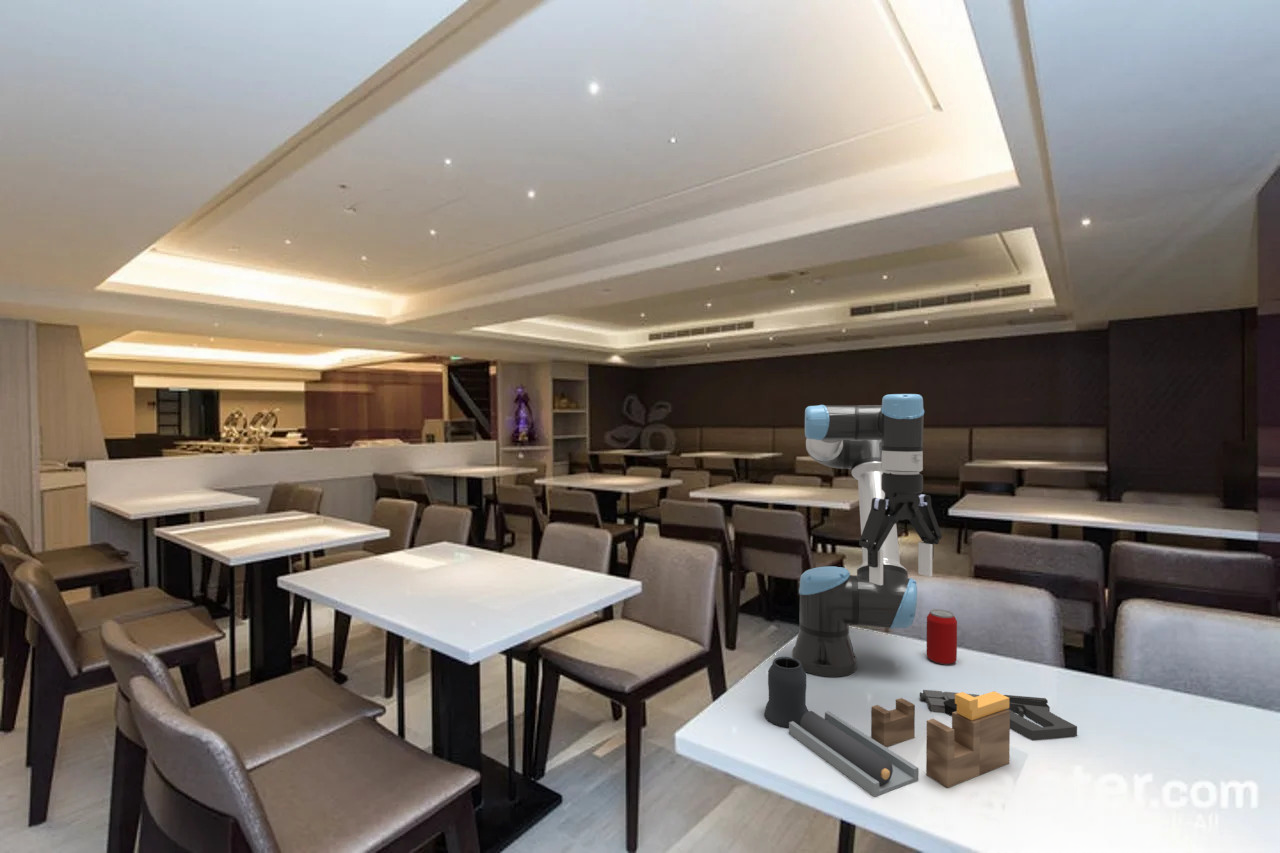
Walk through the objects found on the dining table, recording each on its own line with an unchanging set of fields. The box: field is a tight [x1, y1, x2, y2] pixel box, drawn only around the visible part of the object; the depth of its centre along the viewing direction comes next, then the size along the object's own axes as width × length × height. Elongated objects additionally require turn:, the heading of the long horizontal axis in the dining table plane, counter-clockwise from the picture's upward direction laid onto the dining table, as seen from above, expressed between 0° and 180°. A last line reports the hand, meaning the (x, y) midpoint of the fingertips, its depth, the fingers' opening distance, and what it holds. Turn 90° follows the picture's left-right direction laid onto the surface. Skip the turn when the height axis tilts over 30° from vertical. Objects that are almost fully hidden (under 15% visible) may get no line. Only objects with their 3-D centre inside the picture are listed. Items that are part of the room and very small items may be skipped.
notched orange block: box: [955, 690, 1009, 720], centre depth 103 cm, size 3×10×3 cm, turn 115°
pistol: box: [919, 689, 1078, 741], centre depth 119 cm, size 2×26×15 cm
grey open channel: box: [788, 710, 919, 797], centre depth 106 cm, size 21×10×2 cm, turn 25°
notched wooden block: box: [925, 709, 1011, 789], centre depth 102 cm, size 4×16×9 cm, turn 115°
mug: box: [763, 656, 809, 730], centre depth 121 cm, size 12×9×11 cm
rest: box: [870, 697, 916, 748], centre depth 112 cm, size 3×8×6 cm, turn 115°
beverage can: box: [926, 608, 958, 665], centre depth 147 cm, size 7×7×12 cm
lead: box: [800, 710, 893, 786], centre depth 105 cm, size 19×4×4 cm
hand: (901, 579), depth 117 cm, fingers open, 13 cm apart
